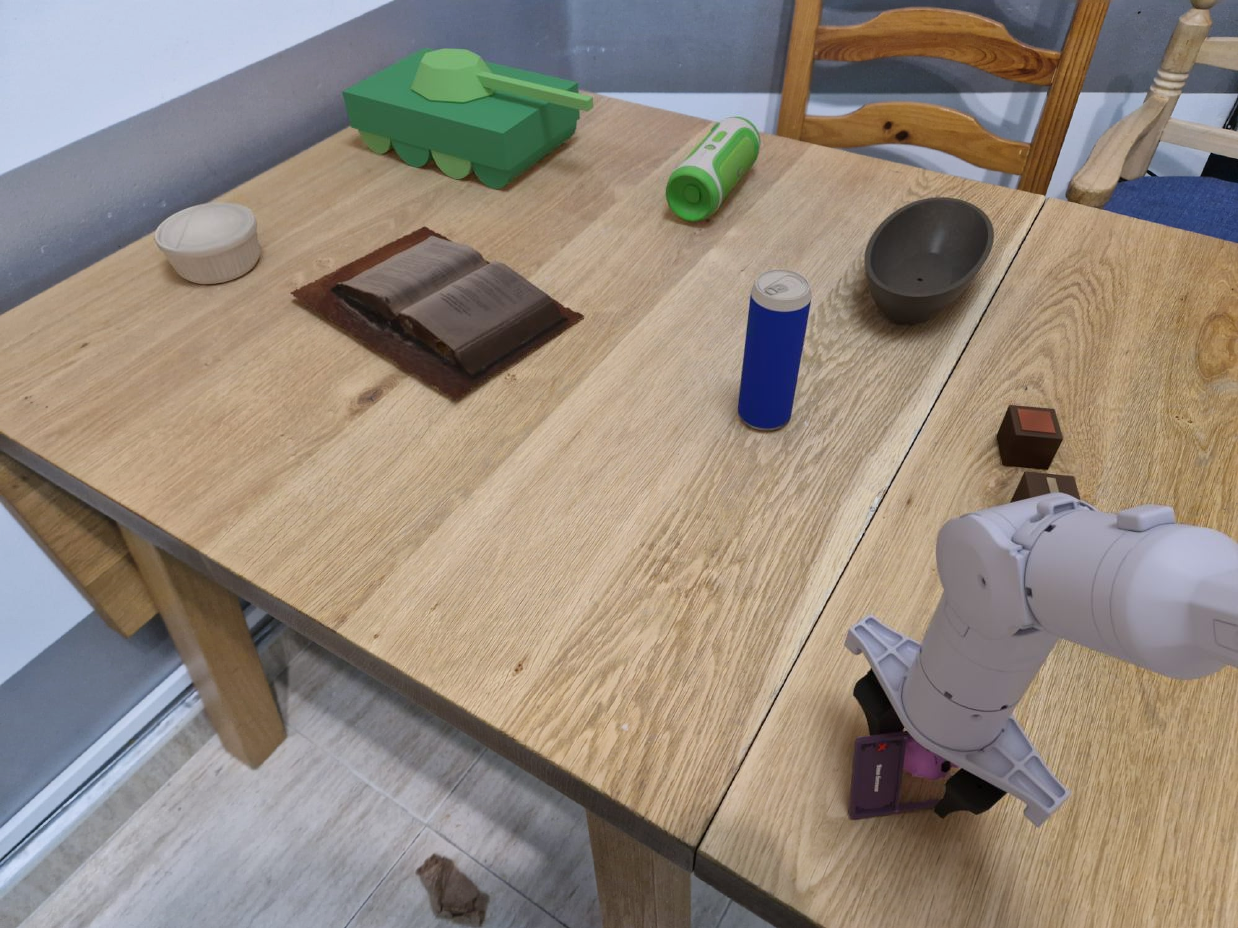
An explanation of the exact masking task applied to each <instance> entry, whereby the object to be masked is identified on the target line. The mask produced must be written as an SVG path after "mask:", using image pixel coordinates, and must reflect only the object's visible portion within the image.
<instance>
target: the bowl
mask: <svg viewBox="0 0 1238 928" xmlns="http://www.w3.org/2000/svg"><path fill="white" fill-rule="evenodd" d="M994 241H995V231H994V226H993V222H992V220H991V219H990V217H989V216H988V215H987V214H986V212H984V211H983V210H982V209H981V208H980V207H978V206H977V205H975V204H973V203H971V202H969V201H966V200H963V199H959V198H954V197H946V196H938V197H928V198H927V197H926V198H922V199H918V200H916V201H912V202H910V203H908V204H905V205H904V206H902V207H900V208H897V209H896V210H895V211H894V212H892V213H891V214H889V215H888V216H887V217H886V218H885V219H884V220H883V221H881V223H880V224H879V225H878V226H877V227H876V228H875V230H874V232H872V234H871V236H870V237H869V239H868V242H867V245H866V247H865V251H864V260H863V261H864V272H865V279H866V284H867V288H868V292H869V294H870V297H871V299H872V302H873V304H874V305H875V307H876V308H877V310H878V311H879V312H880V313H881V315H882V316H883V317H884V318H885V319H886V320H887V321H889V322H891V323H892V324H896V325H900V326H915V325H918V324H921V323H923V322H927V321H928V320H930V319H932V318H934V317H935V316H936V315H938V314H940V313H941V312H943V311H944V310H945V309H947V308H948V307H949V306H950V305H951V304H952V303H954V302H955V301H956V300H957V299H958V298H959V297H960V296H961V295H962V294H963V293H964V292H965V290H966V289H967V288H968V287H969V286H970V284H971V283H972V282H973V281H974V279H975V278H976V277H977V275H978V274H979V273H980V271H981V270H982V268H983V266H984V265H985V263H986V261H987V260H988V259H989V256H990V254H991V251H992V250H993V246H994Z"/></svg>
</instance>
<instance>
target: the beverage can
mask: <svg viewBox="0 0 1238 928" xmlns="http://www.w3.org/2000/svg"><path fill="white" fill-rule="evenodd" d="M812 299H813V294H812V289H811V284H810V282H809V280H808V279H807V278H806V277H805V276H804V275H802V274H800V273H799V272H796V271H793V270H789V269H781V268H780V269H779V268H778V269H777V268H776V269H771V270H770V269H769V270H766V271H763V272H762V273H760V274H759V275H758V276H757V277H756V279H755V281H754V283H753V284H752V287H751V290H750V296H749V304H748V305H749V306H748V314H747V321H746V330H745V340H744V349H743V358H742V364H741V365H742V367H741V375H740V385H739V392H738V393H739V394H738V402H737V413H738V416H739V417H740V419H741V420H742V421H743V422H744V423H745V424H746V425H747V426H749V427H751V428H752V429H755V430H758V431H774V430H777V429H779V428H781V427H783V426H784V425H786V424H787V423H788V422H789V420H790V419H791V417H792V414H793V407H794V402H795V401H794V400H795V395H796V389H797V386H798V385H797V384H798V380H799V379H798V378H799V373H800V368H801V367H800V366H801V361H802V355H803V350H804V343H805V338H806V333H807V327H808V321H809V315H810V311H811V304H812Z"/></svg>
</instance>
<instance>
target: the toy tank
mask: <svg viewBox="0 0 1238 928" xmlns="http://www.w3.org/2000/svg"><path fill="white" fill-rule="evenodd" d="M342 96H343V101H344V105H345V108H346V112H347V113H346V114H347V117H348V120H349V124H350V128H351V129H355V130H358V134H359V135H360V138H361V139H362V141H363V142H364V144H365V145H366V147H368V148H369V149H370V150H371V151H372V152H374V153H376V154H380V155H381V154H383V155H384V154H385V153H387V152H388V151H390V150H392V149H394V151H395V153H396V154H397V156H398V157H399V158H400V159H401V160H402V161H403V162H404V163H406V164H407V165H409V166H410V167H414V168H420V167H423V166H425V165H426V164H429V163H430V162H431V161H432V160H433V161H434V162H435V164H436V166H437V167H438V168H439V170H440V171H441V172H442V173H444V174H445V175H446V176H447V177H449V178H451V179H456V180H462V179H464V178H466V177H467V176H469V175H470V174H472V173H473V172H474V174H475V176H476V177H477V178H478V180H479V181H480V182H481V183H482V184H484V185H485V186H486V187H489V188H490V189H495V190H499V189H502V188H504V187H505V186H507V185H508V184H509V183H511V182H512V181H514V180H515V179H516V178H518V177H519V176H521V175H522V174H523V173H524V172H526V171H528V170H529V169H530V168H532V166H534V165H536V164H537V163H538V162H539V161H541V160H542V159H544V158H545V157H546V156H548V155H549V154H551V153H552V152H553V151H555V150H556V149H557V148H559V147H560V146H562V145H563V144H564V143H566V142H567V141H569V140H570V139H571V138H572V137H573V136H574V134H575V132H576V129H577V125H578V121H579V120H580V119H581V115H580V112H581V111H583V112H587V113H588V112H590V111H591V110H592V109H594V97H593V96H590V95H587V94H581V93H580V92H579V82H578V81H573V80H568V79H564V78H560V77H556V76H552V75H547V74H542V73H538V72H534V71H530V70H526V69H521V68H517V67H512V66H508V65H503V64H498V63H494V62H490V61H485V60H484V59H483V58H482V57H481V56H480V55H479V54H477V53H475V52H474V51H473V52H472V51H471V50H469V49H466V48H465V49H463V48H446V47H445V48H441V49H433V48H429V47H423V48H421V49H419V50H418V51H415V52H413V53H412V54H409V55H408V56H406V57H404V58H402V59H400V60H399V61H396V62H395V63H393V64H391V65H389V66H387V67H385V68H383V69H382V70H380V71H377V72H375V73H373V74H372V75H370V76H368V77H366V78H365V79H362V80H361V81H359V82H357V83H355V84H353V85H352V86H349V87H347V88H346V89H344V90H342Z"/></svg>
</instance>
